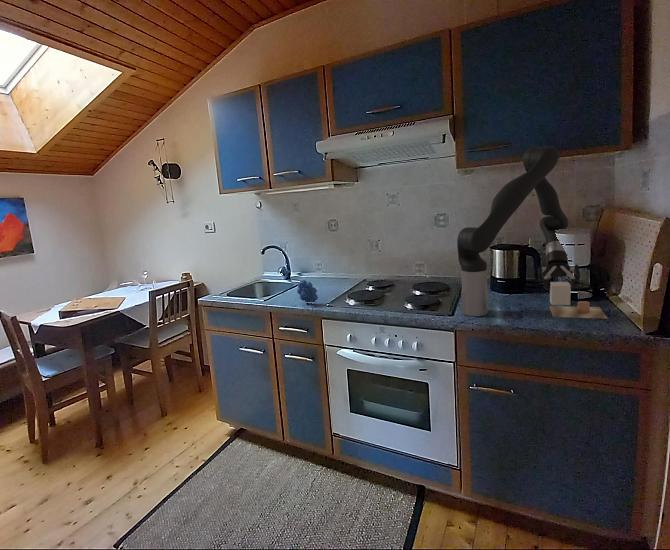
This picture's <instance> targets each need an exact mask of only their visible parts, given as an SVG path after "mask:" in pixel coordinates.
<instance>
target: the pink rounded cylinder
mask: <svg viewBox="0 0 670 550" xmlns="http://www.w3.org/2000/svg"><path fill="white" fill-rule="evenodd" d="M590 305H591V304H590V301H587V300H585V301H584V300H580V301H577V306H576V307H577V312H578V313H583V314H587V313H589V309H590V307H591V306H590Z"/></svg>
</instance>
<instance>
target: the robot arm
mask: <svg viewBox="0 0 670 550" xmlns="http://www.w3.org/2000/svg"><path fill="white" fill-rule="evenodd" d="M559 158H560V151H559V149H558V148H557V147H555V146H548V145H547V146H537V145H536V146H531V147H528V148H527V149H526V150H525V151H524V152H523V156H522V164H523V167H524V169H525V173H523V174H521V175H519V176H517V177H515V178H514V179H512V180H510V181H509V182H507V183H506V184H504V185H503V186H502V188H501V189H500V190H499V191H498V193H496V195H495V196H494V198H493V199H492V202H491V205H490V211H489V215H488V216H487V217H486V219H485V220H484V221H483V222H482V223H481V224H480V225H479V226H478V227H474V226H473V227H472V226H471V227H464V228H462V229H461V230H460V231H459V233H458V235H457V241H456V243H457V247H456V249H457V256H458V263H459V265H460V270H461V271H460V272H461V273H460V274H461V275H460V276H461V293H460V296H461V314H462V315H463V316H469V317H483V316H486V315H488V314H489V311H488V310H489V307H488V300H489V299H488V297H489V296H488V264H487V262H486V261H485V260H484V259H483V258H482V256H481V255H480V253H484V252H486V251H487V250H488V249H489V248H490V246H491V245H492V244H493V241H494V240H495V239H496V237H497V236H498V234H499V233H500V231H501V230H502V229H503V227H504V225H506V224H507V222H508V221H509V219H510V218H511V217H512V215H513V214H514V213H515V212H516V211H517V209H519V207H520V206H521V205H522V204H523V203H524V201H525V200H526V198H527V197H528V196H529V195H530V194H531V192H532V191H533V190H535V193H536V196H537V200H538V203H539V208H540V212H541V213H542V215H544V217H542V218H541V219H540V221H539V227H540V230H541V232H542V233H543V236H544V239H545V240H544V241H545V258H546V259H545V260H546V266H542V265H538V269H537V281H538V282H543V289H545V291H548V290H549V280H550V279H552V277H553V278H558V277H559V278H563V277H564V278H565V279H567V280H569V284H570V285H571V291H574V290H575V289H576V282H580V280H581V272H580V268H579V265H578V264H575V265H572V266H570V265H569V256H568V253H567V254H566V252H565V250H564V248H563V246H562V245H561V244H560V242H559V240H558V239H557V237H556V234H555V232H556V231H555V230H559V229H565V230H566V229H567V228H568V226H569V220H568V217H567V215H566V214H565V212H564V211H563V210H562V208H561V205H560V200H559V195H558V193H557V191H556V189H555V188H554V186H553V185H552V184H551V183H550V182H549V180H548V179H547V178H546V177H547V175H549V173H551V172H552V171H553V169H554V168H555V166H556V165H558V161H559ZM567 256H568V257H567ZM544 271H546V272H547V273H546V274H545V276H543V273H544ZM571 271H572V272H571ZM572 273H574V275H573V274H572Z"/></svg>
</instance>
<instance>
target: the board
mask: <svg viewBox="0 0 670 550" xmlns="http://www.w3.org/2000/svg"><path fill="white" fill-rule="evenodd" d="M549 310H550V312H551V315H552V317H553V318H570V319H571V318H573V319H574V318H575V319H577V318H581V319H609V318H608V317H607V315H606V313H604V311H603V310H602V308H601V307H599V306H590V309H589V313H587V314H583V313H578V312H577V306H570V305H549Z"/></svg>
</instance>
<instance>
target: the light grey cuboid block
mask: <svg viewBox="0 0 670 550" xmlns="http://www.w3.org/2000/svg"><path fill="white" fill-rule="evenodd" d="M571 291H572V290H571V285H570V281H550V282H549V302H550V304H551V305H550V306H571Z"/></svg>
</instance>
